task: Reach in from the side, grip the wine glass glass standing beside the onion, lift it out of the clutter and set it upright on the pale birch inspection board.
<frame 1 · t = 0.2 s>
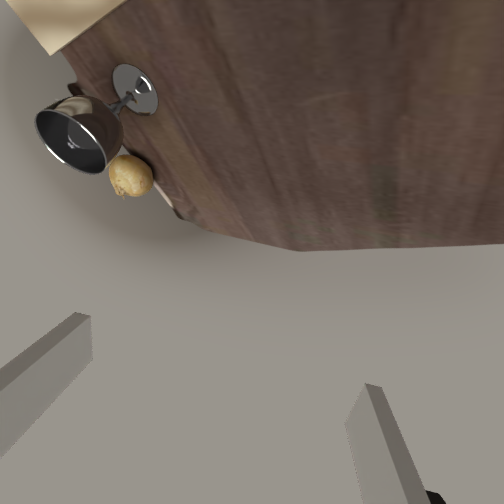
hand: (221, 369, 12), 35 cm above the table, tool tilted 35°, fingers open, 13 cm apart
onion: (139, 166, 51), on the table
wine glass: (135, 91, 39), on the table
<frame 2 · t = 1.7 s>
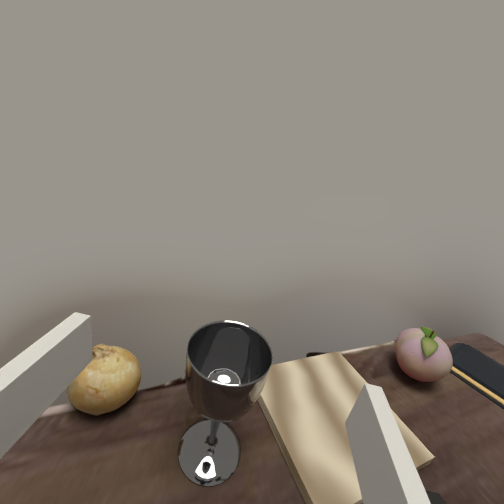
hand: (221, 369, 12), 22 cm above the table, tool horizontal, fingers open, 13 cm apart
onion: (106, 396, 33), on the table
decorative fruit: (410, 376, 47), on the table
inspection board: (329, 416, 36), on the table
wallet: (500, 389, 49), on the table
wine glass: (209, 449, 29), on the table
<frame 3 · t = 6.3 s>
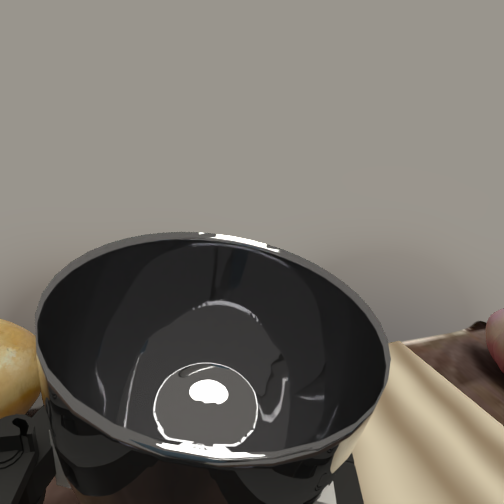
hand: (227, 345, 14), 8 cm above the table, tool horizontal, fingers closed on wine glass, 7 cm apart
inspection board: (416, 458, 19), on the table
when the fingers open (11 cm above the table, at t = 12.3 s): wine glass moves 4 cm, resting on inspection board.
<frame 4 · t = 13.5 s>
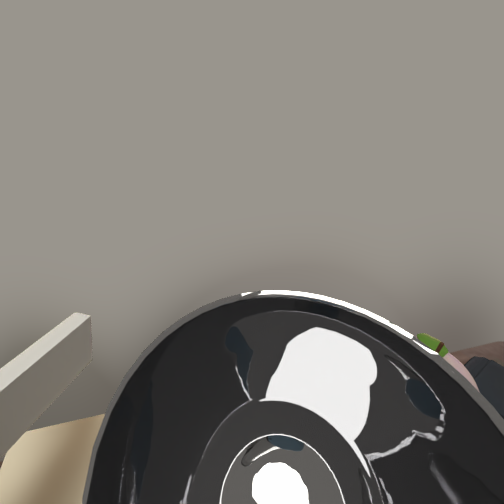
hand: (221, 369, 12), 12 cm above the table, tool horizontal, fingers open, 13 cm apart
decorative fruit: (396, 426, 25), on the table
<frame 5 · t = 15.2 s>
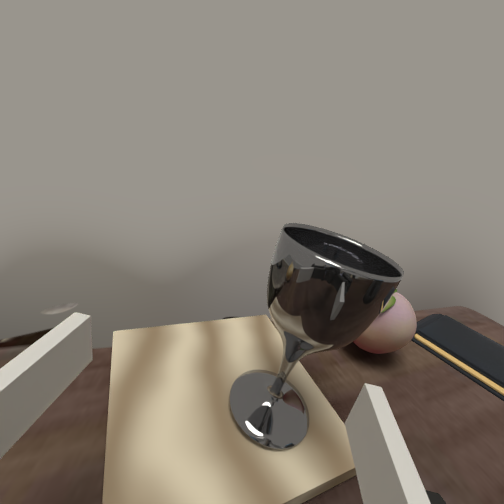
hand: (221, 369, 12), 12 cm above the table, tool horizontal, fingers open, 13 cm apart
decorative fruit: (363, 348, 35), on the table
inspection board: (220, 397, 24), on the table
wallet: (484, 366, 37), on the table
wine glass: (268, 405, 22), point 2 cm above the table, touching inspection board
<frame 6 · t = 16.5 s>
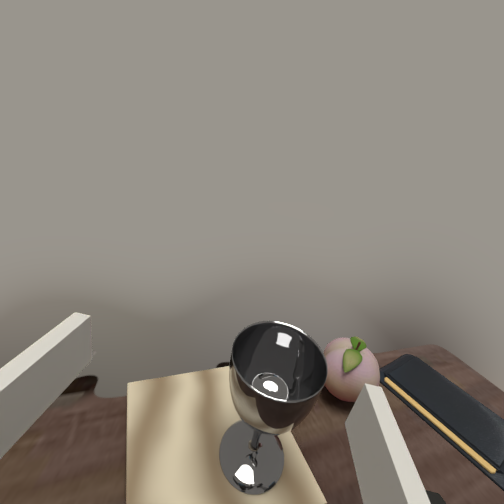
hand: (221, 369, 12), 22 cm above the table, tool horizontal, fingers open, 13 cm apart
decorative fruit: (337, 393, 40), on the table
inspection board: (213, 444, 29), on the table
wallet: (443, 409, 43), on the table
wine glass: (251, 453, 28), point 2 cm above the table, touching inspection board
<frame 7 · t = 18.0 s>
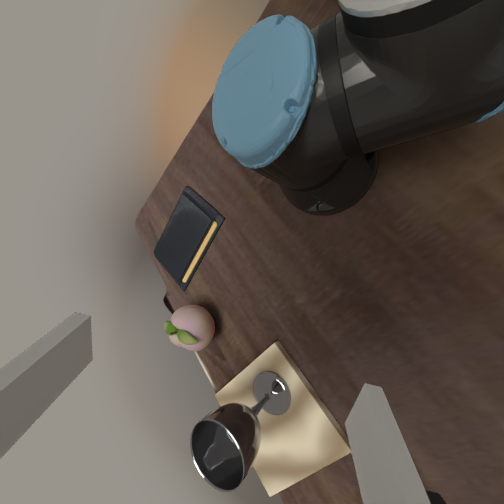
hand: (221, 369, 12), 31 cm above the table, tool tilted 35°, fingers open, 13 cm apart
decorative fruit: (209, 321, 54), on the table
inspection board: (276, 414, 44), on the table
wallet: (188, 238, 59), on the table
wine glass: (271, 392, 43), point 2 cm above the table, touching inspection board
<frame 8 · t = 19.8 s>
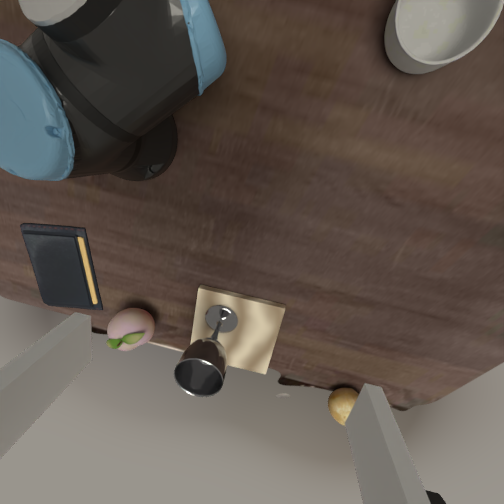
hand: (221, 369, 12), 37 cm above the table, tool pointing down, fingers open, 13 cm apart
onion: (343, 393, 60), on the table
decorative fruit: (143, 313, 58), on the table
inspection board: (235, 329, 56), on the table
wallet: (66, 267, 57), on the table
teacup: (422, 23, 35), on the table
wine glass: (221, 318, 54), point 1 cm above the table, touching inspection board
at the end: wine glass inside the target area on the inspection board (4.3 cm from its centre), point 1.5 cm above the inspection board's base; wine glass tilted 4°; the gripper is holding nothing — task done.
